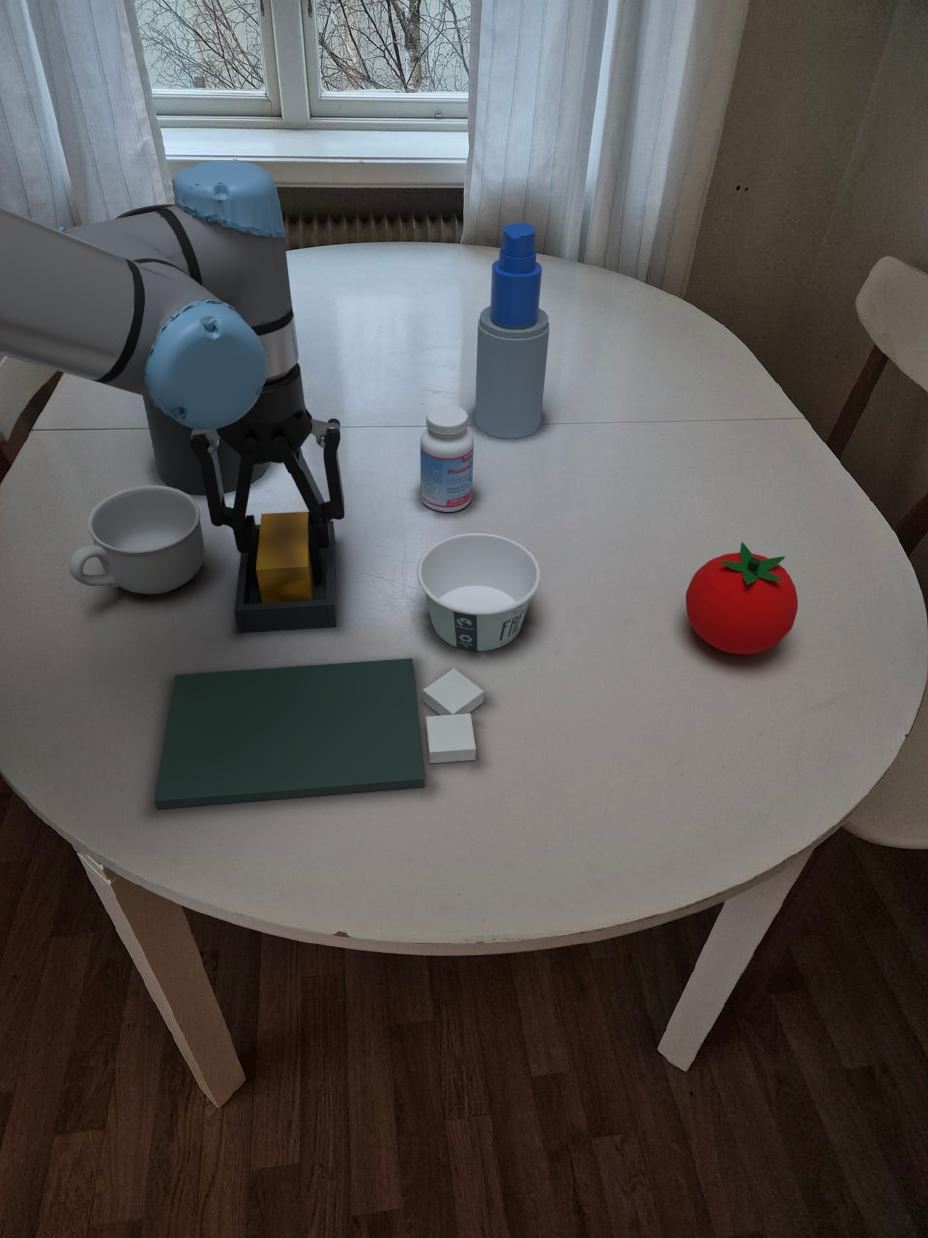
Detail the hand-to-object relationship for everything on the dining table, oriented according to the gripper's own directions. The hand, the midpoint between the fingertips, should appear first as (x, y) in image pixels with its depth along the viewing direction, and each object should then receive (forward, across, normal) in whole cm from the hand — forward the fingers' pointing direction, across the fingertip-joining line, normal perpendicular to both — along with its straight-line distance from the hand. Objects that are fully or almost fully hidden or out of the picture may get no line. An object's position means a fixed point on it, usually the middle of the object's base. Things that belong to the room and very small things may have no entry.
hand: (288, 571), depth 90 cm
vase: (+2, -10, +24) cm, 26 cm away
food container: (+2, +19, -7) cm, 20 cm away
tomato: (+2, +44, -12) cm, 46 cm away
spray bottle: (+2, +28, +31) cm, 42 cm away
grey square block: (+2, +15, -23) cm, 27 cm away
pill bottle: (+2, +18, +14) cm, 23 cm away
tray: (+2, 0, 0) cm, 2 cm away
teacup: (+2, -15, +2) cm, 15 cm away
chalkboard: (+2, +1, -20) cm, 20 cm away
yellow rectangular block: (+1, 0, 0) cm, 1 cm away
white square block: (+2, +15, -18) cm, 24 cm away
